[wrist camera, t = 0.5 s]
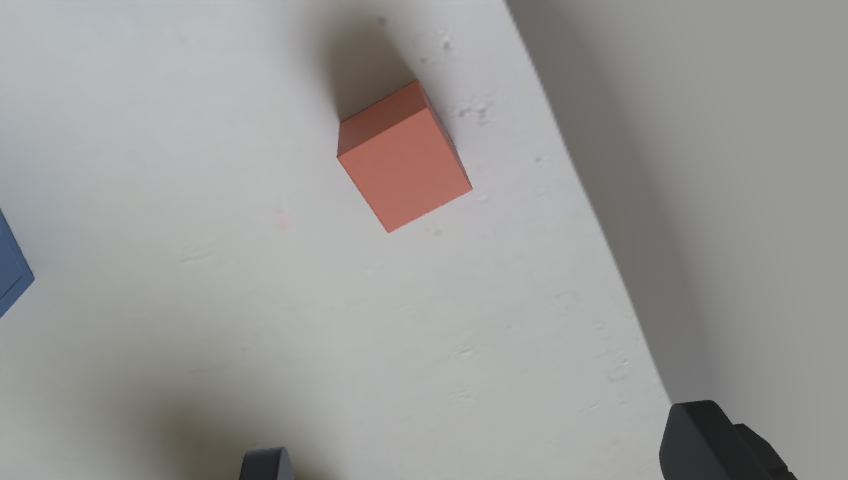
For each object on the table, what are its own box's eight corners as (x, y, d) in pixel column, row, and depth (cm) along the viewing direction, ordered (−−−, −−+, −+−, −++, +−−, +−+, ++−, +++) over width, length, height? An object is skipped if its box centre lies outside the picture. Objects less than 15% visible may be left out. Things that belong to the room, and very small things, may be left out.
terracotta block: (339, 123, 25) (336, 156, 21) (417, 78, 24) (427, 106, 20) (384, 193, 26) (388, 234, 23) (458, 153, 26) (473, 189, 22)
